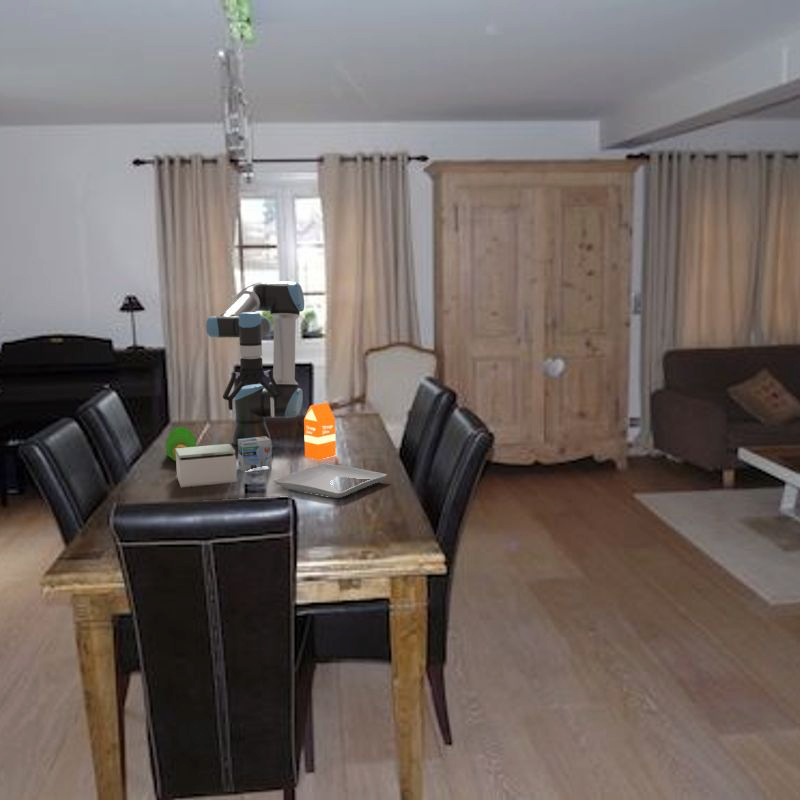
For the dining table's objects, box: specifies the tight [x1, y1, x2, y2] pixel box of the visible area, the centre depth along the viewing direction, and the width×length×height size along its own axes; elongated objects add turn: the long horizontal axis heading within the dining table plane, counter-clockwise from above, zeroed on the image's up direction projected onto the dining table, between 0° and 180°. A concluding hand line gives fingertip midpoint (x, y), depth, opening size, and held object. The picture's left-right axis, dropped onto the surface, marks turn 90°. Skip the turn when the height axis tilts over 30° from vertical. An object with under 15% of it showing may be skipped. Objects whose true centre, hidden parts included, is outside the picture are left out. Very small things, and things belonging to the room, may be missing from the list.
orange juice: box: [303, 402, 337, 461], centre depth 302 cm, size 8×9×20 cm
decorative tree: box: [165, 426, 197, 462], centre depth 304 cm, size 11×12×30 cm
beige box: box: [175, 453, 237, 489], centre depth 272 cm, size 18×14×9 cm
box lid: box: [175, 443, 236, 458], centre depth 271 cm, size 18×14×1 cm
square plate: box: [272, 462, 388, 499], centre depth 264 cm, size 27×27×4 cm
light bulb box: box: [237, 436, 273, 473], centre depth 286 cm, size 11×7×11 cm, turn 117°
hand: (253, 417), depth 283 cm, fingers open, 13 cm apart
